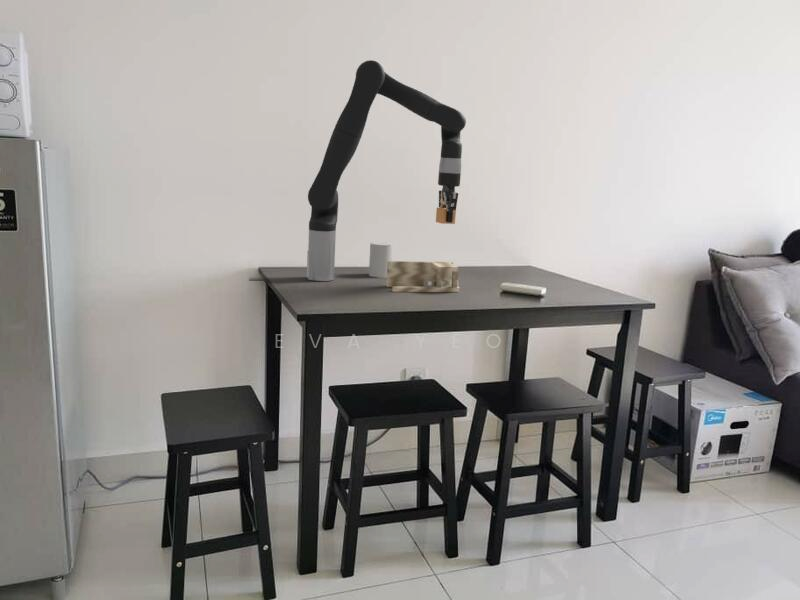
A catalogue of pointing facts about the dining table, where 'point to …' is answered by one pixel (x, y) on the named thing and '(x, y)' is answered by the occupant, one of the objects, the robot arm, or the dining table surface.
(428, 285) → the grey long rectangular bar
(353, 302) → the dining table surface
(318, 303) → the dining table surface
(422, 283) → the bridge channel
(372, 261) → the cup
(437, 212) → the block
